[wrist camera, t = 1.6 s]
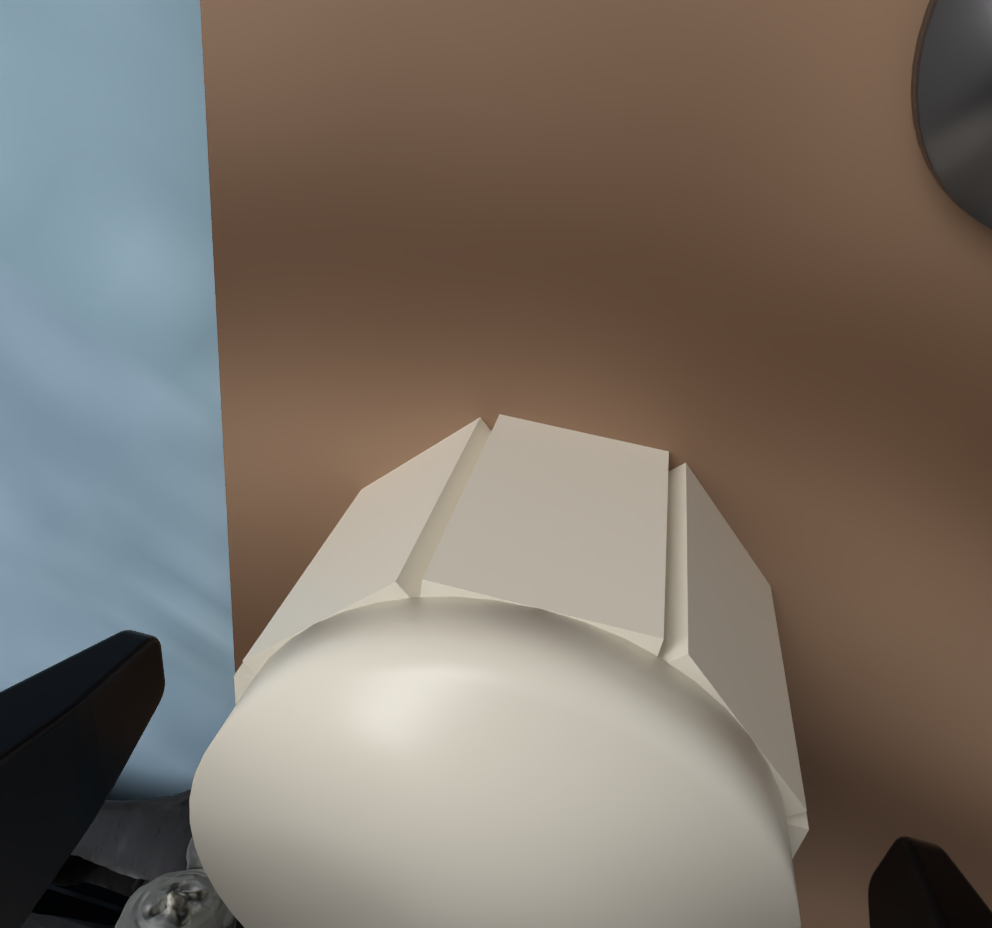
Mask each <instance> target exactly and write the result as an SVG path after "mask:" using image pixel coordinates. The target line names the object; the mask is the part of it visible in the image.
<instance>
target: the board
mask: <svg viewBox="0 0 992 928" xmlns="http://www.w3.org/2000/svg"><path fill="white" fill-rule="evenodd" d="M929 1H930V0H200V7H201V26H202V45H203V64H204V83H205V103H206V122H207V141H208V160H209V179H210V198H211V218H212V237H213V256H214V275H215V294H216V313H217V333H218V352H219V371H220V390H221V409H222V428H223V448H224V467H225V486H226V505H227V524H228V544H229V563H230V582H231V601H232V620H233V639H234V659H235V673H236V672H237V670H238V669H239V667H240V666H241V665H242V663H243V662H242V661H243V659H244V658H245V657H246V655H247V654H248V652H249V651H250V649H251V648H252V646H253V645H254V644H255V642H256V641H257V639H258V638H259V636H260V635H261V633H262V632H263V631H264V629H265V628H266V626H267V625H268V623H269V622H270V621H271V619H272V618H273V616H274V615H275V613H276V612H277V610H278V609H279V608H280V606H281V605H282V603H283V602H284V600H285V599H286V597H287V596H288V595H289V593H290V592H291V590H292V589H293V587H294V586H295V584H296V583H297V582H298V580H299V579H300V577H301V576H302V574H303V573H304V571H305V570H306V569H307V567H308V566H309V564H310V563H311V561H312V560H313V558H314V557H315V556H316V554H317V553H318V551H319V550H320V548H321V547H322V545H323V544H324V543H325V541H326V540H327V538H328V537H329V535H330V534H331V532H332V531H333V530H334V528H335V527H336V525H337V524H338V522H339V521H340V519H341V518H342V517H343V515H344V514H345V512H346V511H347V509H348V508H349V506H350V505H351V504H352V502H353V501H354V499H355V498H356V496H357V495H358V493H359V492H360V491H361V489H363V488H365V487H366V486H368V485H370V484H371V483H373V482H374V481H376V480H378V479H379V478H381V477H383V476H384V475H386V474H388V473H389V472H391V471H393V470H394V469H396V468H397V467H399V466H401V465H402V464H404V463H406V462H407V461H409V460H411V459H412V458H414V457H416V456H417V455H419V454H420V453H422V452H424V451H425V450H427V449H429V448H430V447H432V446H434V445H435V444H437V443H439V442H440V441H442V440H443V439H445V438H447V437H448V436H450V435H452V434H453V433H455V432H457V431H458V430H460V429H462V428H463V427H465V426H466V425H468V424H470V423H471V422H473V421H475V420H476V419H478V418H480V417H481V418H482V420H483V421H484V422H485V424H486V425H487V426H488V428H489V429H490V430H491V431H492V429H493V427H494V425H495V423H496V421H497V419H498V416H499V414H501V415H506V416H510V417H515V418H519V419H524V420H528V421H533V422H537V423H542V424H547V425H551V426H556V427H560V428H565V429H569V430H574V431H578V432H583V433H587V434H592V435H596V436H601V437H605V438H610V439H615V440H619V441H624V442H628V443H633V444H637V445H642V446H646V447H651V448H655V449H660V450H664V451H669V464H668V471H670V470H672V469H674V468H676V467H678V466H680V465H682V464H684V463H687V465H688V466H689V468H690V469H691V471H692V472H693V474H694V475H695V476H696V478H697V479H698V481H699V482H700V484H701V485H702V487H703V488H704V490H705V491H706V493H707V494H708V495H709V497H710V498H711V500H712V501H713V503H714V504H715V506H716V507H717V509H718V510H719V511H720V513H721V514H722V516H723V517H724V519H725V520H726V522H727V523H728V525H729V526H730V528H731V529H732V530H733V532H734V533H735V535H736V536H737V538H738V539H739V541H740V542H741V544H742V545H743V547H744V548H745V549H746V551H747V552H748V554H749V555H750V557H751V558H752V560H753V561H754V563H755V564H756V565H757V567H758V568H759V570H760V571H761V573H762V574H763V576H764V577H765V579H766V580H767V582H768V583H769V584H770V586H771V591H772V597H773V603H774V610H775V616H776V622H777V628H778V634H779V641H780V647H781V653H782V659H783V665H784V672H785V678H786V684H787V690H788V696H789V702H790V709H791V715H792V721H793V727H794V733H795V740H796V746H797V752H798V758H799V764H800V771H801V777H802V783H803V789H804V795H805V801H806V808H807V812H806V814H807V820H808V826H809V831H808V832H807V834H806V836H805V838H804V839H803V841H802V843H801V845H800V846H799V848H798V850H797V852H796V854H795V855H794V857H793V859H792V861H793V869H794V876H795V883H796V891H797V898H798V906H799V913H800V921H801V928H870V925H869V908H868V887H869V882H870V879H871V877H872V874H873V873H874V871H875V870H876V868H877V867H878V865H879V864H880V862H881V861H882V859H883V858H884V856H885V855H886V853H887V852H888V850H889V849H890V847H891V846H892V844H893V843H894V842H895V840H896V839H897V838H900V837H902V836H908V837H912V838H916V839H920V840H923V841H927V842H931V843H934V844H936V845H938V846H940V847H941V848H942V849H943V850H944V851H945V852H946V853H947V854H948V855H949V856H950V858H951V859H952V860H953V862H954V863H955V864H956V866H957V867H958V868H959V869H960V871H961V872H962V873H963V875H964V876H965V877H966V878H967V880H968V881H969V882H970V884H971V885H972V886H973V888H974V889H975V890H976V891H977V893H978V894H979V895H980V897H981V898H982V899H983V900H984V902H985V903H986V904H987V906H988V907H989V908H990V910H991V911H992V229H990V228H988V227H987V226H985V225H983V224H982V223H980V222H978V221H977V220H975V219H974V218H972V217H971V216H969V215H968V214H967V213H966V212H965V211H963V210H962V209H961V208H960V207H959V206H957V205H956V204H955V203H954V202H953V201H952V200H951V199H950V198H949V196H948V195H947V194H946V193H945V192H944V191H943V189H942V188H941V187H940V186H939V185H938V183H937V181H936V180H935V178H934V176H933V175H932V173H931V171H930V170H929V168H928V166H927V165H926V162H925V160H924V157H923V155H922V152H921V150H920V147H919V145H918V141H917V137H916V132H915V128H914V124H913V119H912V106H911V76H912V64H913V58H914V53H915V47H916V42H917V37H918V34H919V31H920V27H921V24H922V21H923V18H924V14H925V11H926V8H927V6H928V3H929Z"/></svg>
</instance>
